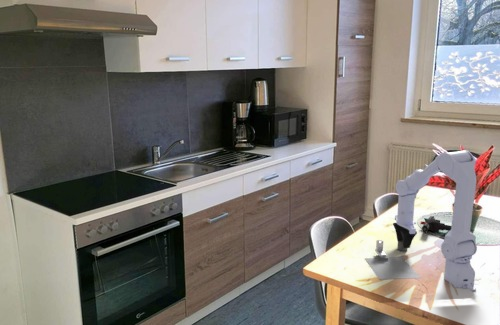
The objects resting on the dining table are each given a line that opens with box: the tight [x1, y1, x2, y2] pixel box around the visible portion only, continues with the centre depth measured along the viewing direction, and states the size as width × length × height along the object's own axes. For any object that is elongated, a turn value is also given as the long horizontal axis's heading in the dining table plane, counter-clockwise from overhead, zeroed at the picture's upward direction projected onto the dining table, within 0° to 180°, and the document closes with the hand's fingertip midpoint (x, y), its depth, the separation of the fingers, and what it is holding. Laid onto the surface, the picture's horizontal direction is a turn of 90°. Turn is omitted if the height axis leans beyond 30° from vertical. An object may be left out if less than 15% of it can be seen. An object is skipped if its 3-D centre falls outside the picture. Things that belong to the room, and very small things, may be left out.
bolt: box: [374, 239, 387, 258], centre depth 161 cm, size 6×2×4 cm, turn 4°
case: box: [364, 254, 422, 281], centre depth 154 cm, size 16×14×2 cm
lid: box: [396, 240, 408, 252], centre depth 168 cm, size 9×9×5 cm
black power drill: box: [420, 215, 452, 234], centre depth 188 cm, size 5×20×15 cm
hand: (403, 244), depth 168 cm, fingers open, 5 cm apart
